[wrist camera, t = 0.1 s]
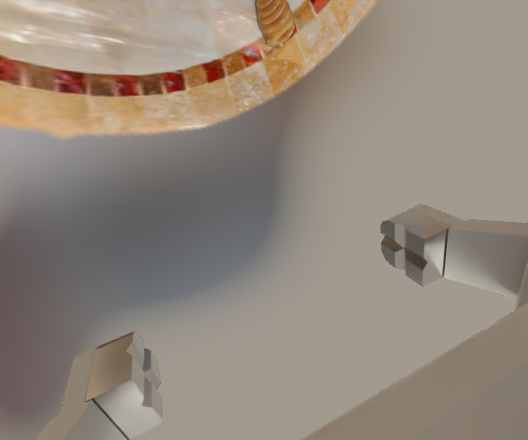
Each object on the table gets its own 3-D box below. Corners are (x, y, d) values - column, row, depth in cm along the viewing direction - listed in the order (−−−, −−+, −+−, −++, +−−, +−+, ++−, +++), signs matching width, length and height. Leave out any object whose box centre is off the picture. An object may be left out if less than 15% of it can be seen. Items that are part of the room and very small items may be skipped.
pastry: (244, 1, 52) (253, 8, 50) (274, -27, 51) (284, -20, 49) (266, 45, 60) (275, 53, 58) (293, 22, 59) (302, 29, 57)
